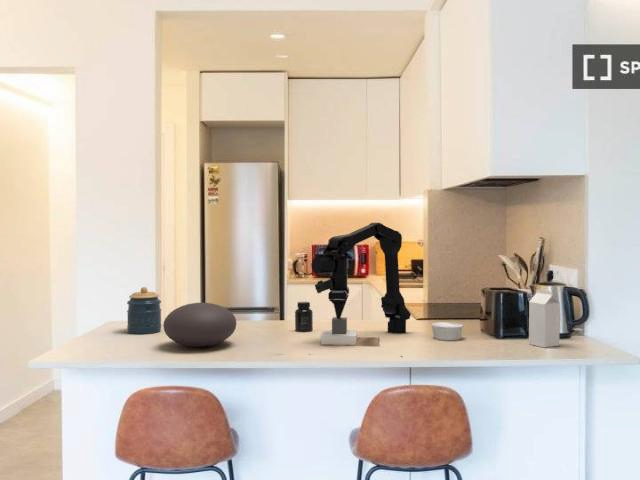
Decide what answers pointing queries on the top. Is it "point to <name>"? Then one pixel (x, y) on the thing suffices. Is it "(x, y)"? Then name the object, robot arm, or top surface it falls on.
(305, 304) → the supplement bottle
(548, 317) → the milk carton
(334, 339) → the socket
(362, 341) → the walnut board
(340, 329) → the charcoal cube
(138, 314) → the canister
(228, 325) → the smooth stone
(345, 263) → the robot arm
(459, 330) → the ramekin
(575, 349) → the top surface
